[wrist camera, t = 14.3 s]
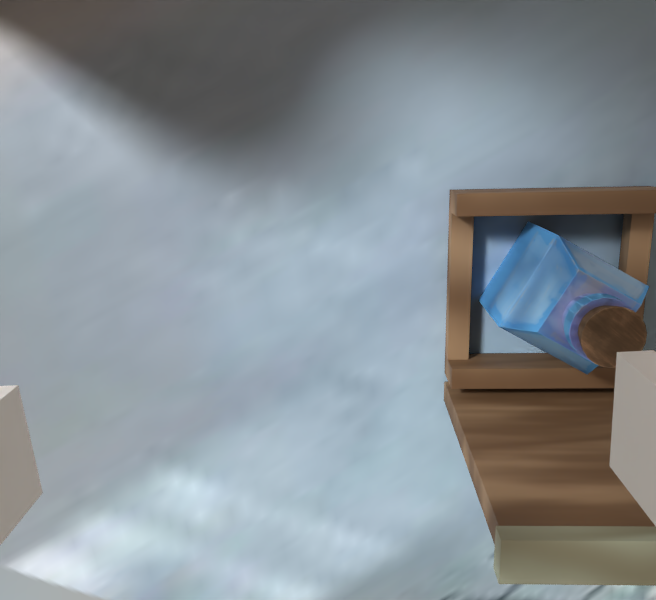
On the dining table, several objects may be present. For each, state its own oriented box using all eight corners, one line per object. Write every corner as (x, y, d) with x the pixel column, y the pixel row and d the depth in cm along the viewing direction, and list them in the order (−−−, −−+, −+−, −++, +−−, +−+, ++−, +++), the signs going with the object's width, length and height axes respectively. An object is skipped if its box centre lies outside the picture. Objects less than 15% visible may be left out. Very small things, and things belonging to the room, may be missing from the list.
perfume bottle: (478, 300, 42) (525, 360, 31) (528, 221, 41) (597, 253, 29) (554, 342, 43) (629, 416, 31) (606, 265, 41) (705, 314, 30)
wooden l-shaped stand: (443, 189, 41) (518, 230, 22) (654, 185, 40) (911, 224, 22) (438, 399, 44) (499, 584, 26) (631, 399, 44) (833, 586, 25)
